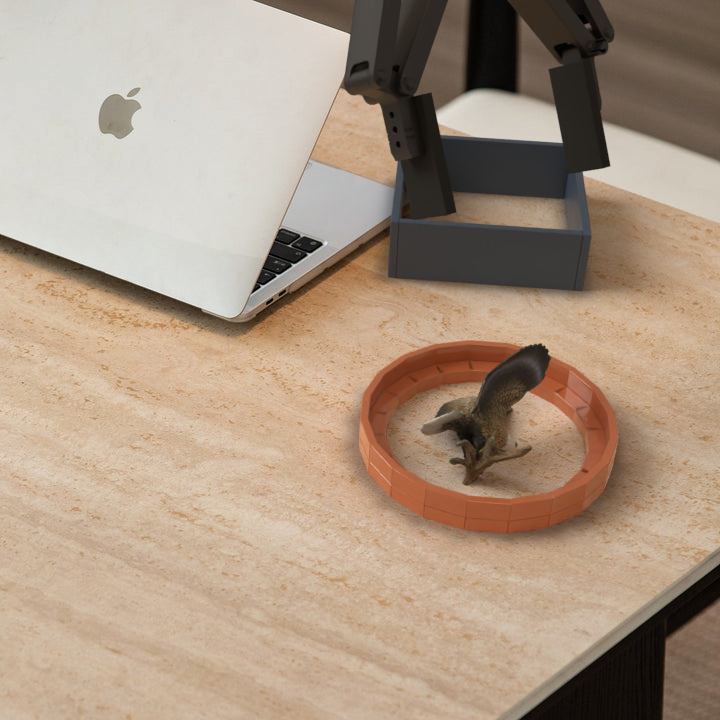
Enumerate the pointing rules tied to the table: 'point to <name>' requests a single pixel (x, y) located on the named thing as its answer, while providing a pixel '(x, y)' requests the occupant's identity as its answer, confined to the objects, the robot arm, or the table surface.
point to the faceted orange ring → (472, 366)
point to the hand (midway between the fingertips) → (516, 192)
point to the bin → (497, 242)
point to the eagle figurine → (491, 412)
